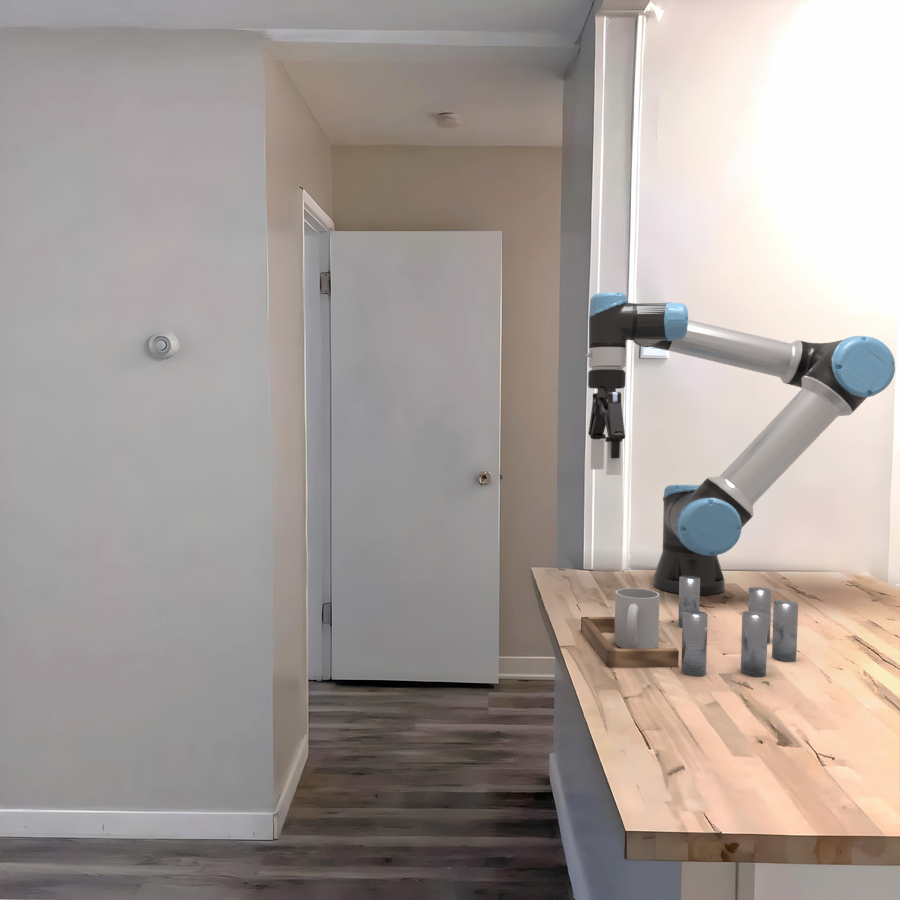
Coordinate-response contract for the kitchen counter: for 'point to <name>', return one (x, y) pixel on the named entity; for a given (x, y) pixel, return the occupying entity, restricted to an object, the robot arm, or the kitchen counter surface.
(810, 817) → the kitchen counter surface
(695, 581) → the spacers
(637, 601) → the cup
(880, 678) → the kitchen counter surface
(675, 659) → the bay
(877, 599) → the kitchen counter surface
